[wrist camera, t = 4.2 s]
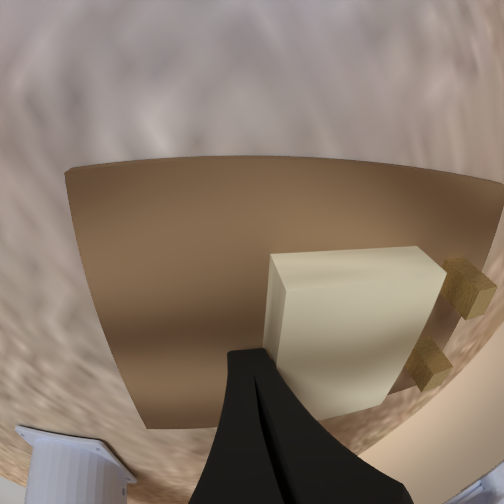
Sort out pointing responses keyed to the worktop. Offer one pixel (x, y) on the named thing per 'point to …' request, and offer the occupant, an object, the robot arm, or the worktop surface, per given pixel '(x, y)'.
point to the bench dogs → (466, 304)
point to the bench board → (245, 255)
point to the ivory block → (347, 322)
